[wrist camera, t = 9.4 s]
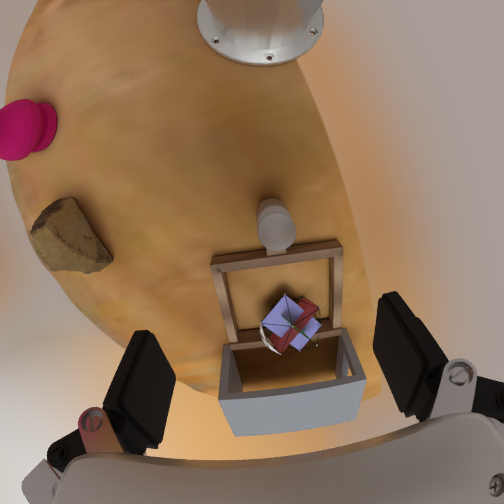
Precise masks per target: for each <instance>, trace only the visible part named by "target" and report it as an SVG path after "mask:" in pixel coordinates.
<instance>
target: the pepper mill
mask: <svg viewBox="0 0 504 504" xmlns="http://www.w3.org/2000/svg"><path fill="white" fill-rule="evenodd" d="M56 128H57V117H56V112H55V110H54V108H53V107H52V106H51V105H49V104H47V103H35V102H33V101H32V100H29V99H22V100H16V101H14V102H11V103H9V104H8V105H6V106H4V107H3V108H2V109H0V159H3V160H8V161H15V160H21V159H24V158H25V157H27V156H28V155H29V154H30V153H33V152H38V151H42V150H44V149H45V148H47V147H48V146H49V145H50V143H51V142H52V140H53V138H54V135H55V133H56Z"/></svg>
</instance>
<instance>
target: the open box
mask: <svg viewBox="0 0 504 504" xmlns="http://www.w3.org/2000/svg"><path fill="white" fill-rule="evenodd" d="M348 367H350V370H351V373H352V376H349V377H347V374H348ZM335 375H336V378H337V379H334V380H329V381H324V382H319V383H313V384H307V385H300V386H294V387H287V388H279V389H270V390H261V391H250V392H243V386H242V382H241V379H240V376H239V372H238V369H237V365H236V362H235V358H234V355H233V351H232V350H231V348H230V344H229V345H223V355H222V365H221V375H220V385H219V396H218V401H219V403H220V406H221V408H222V410H223V412H224V414H225V417H226V419H227V421H228V423H229V425H230V427H231V429H232V431H233V433H234V435H235V436H254V435H267V434H277V433H285V432H293V431H300V430H307V429H313V428H318V427H324V426H329V425H334V424H338V423H343V422H348V421H352V420H355V419H356V416H357V413H358V410H359V406H360V403H361V399H362V395H363V392H364V388H365V384H366V380H367V379H366V376H365V373H364V371H363V368H362V366H361V363H360V361H359V358H358V356H357V354H356V351H355V349H354V346H353V344H352V342H351V339H350V337H349V334H348V332H347V330H346V328H343V329H341V335H338V349H337V360H336V371H335Z"/></svg>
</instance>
